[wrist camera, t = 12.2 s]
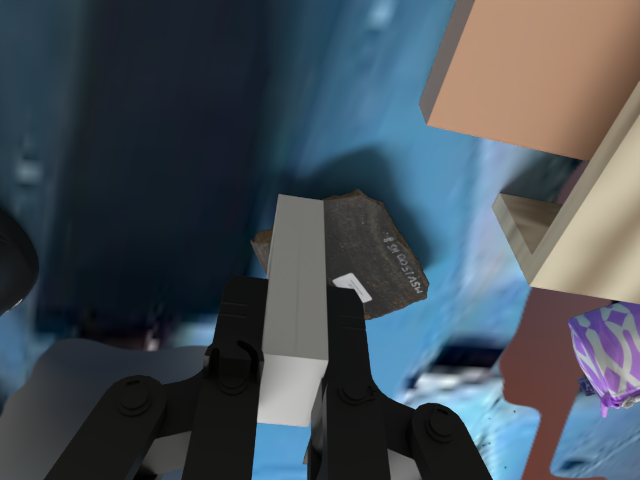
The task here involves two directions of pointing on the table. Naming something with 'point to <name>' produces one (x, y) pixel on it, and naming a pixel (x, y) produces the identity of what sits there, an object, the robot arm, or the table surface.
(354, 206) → the pottery fragment
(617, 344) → the pencil case
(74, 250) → the table surface
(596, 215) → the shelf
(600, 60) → the tile
